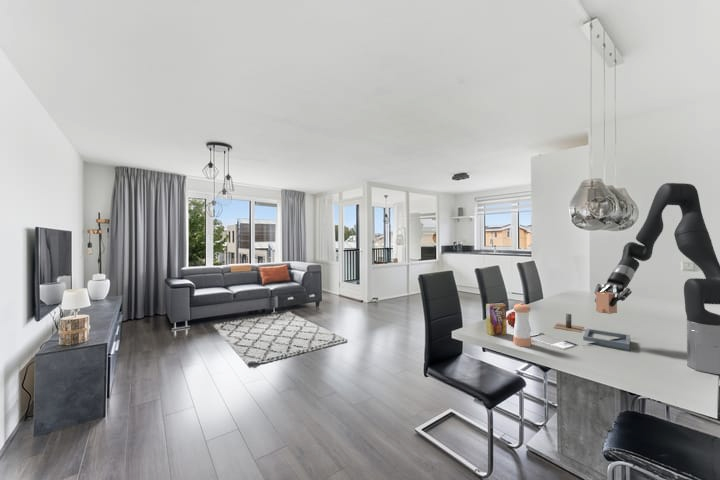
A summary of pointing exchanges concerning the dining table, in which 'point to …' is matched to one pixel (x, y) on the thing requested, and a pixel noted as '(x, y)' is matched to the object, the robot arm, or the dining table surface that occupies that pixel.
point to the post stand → (568, 325)
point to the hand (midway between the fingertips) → (603, 304)
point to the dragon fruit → (511, 318)
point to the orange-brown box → (605, 302)
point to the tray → (617, 343)
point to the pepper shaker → (522, 325)
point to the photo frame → (559, 345)
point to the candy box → (496, 319)
